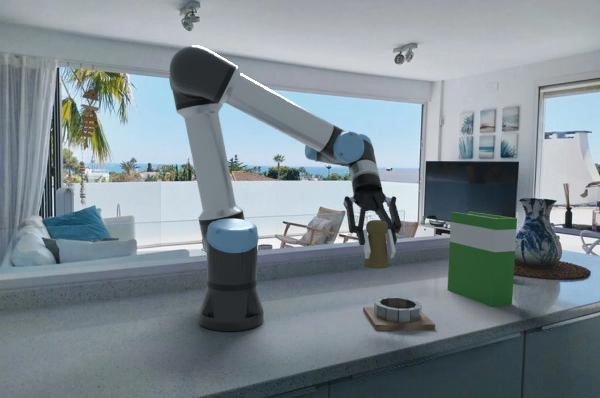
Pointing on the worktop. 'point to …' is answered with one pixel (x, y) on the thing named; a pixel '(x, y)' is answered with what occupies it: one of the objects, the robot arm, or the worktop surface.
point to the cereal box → (482, 257)
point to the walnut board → (386, 325)
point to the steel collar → (397, 309)
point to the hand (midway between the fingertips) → (380, 255)
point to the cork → (377, 244)
